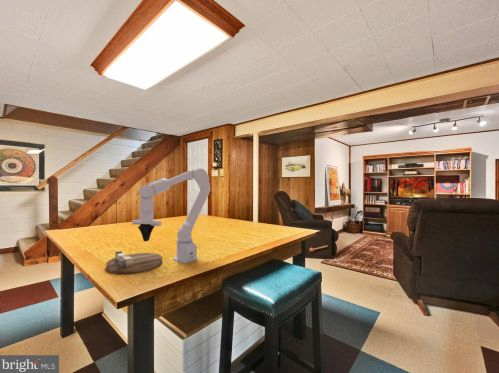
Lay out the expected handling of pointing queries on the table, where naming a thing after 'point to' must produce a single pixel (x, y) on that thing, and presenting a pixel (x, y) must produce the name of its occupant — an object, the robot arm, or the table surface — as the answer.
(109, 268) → the stool seat
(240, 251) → the table surface
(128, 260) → the folding leg
